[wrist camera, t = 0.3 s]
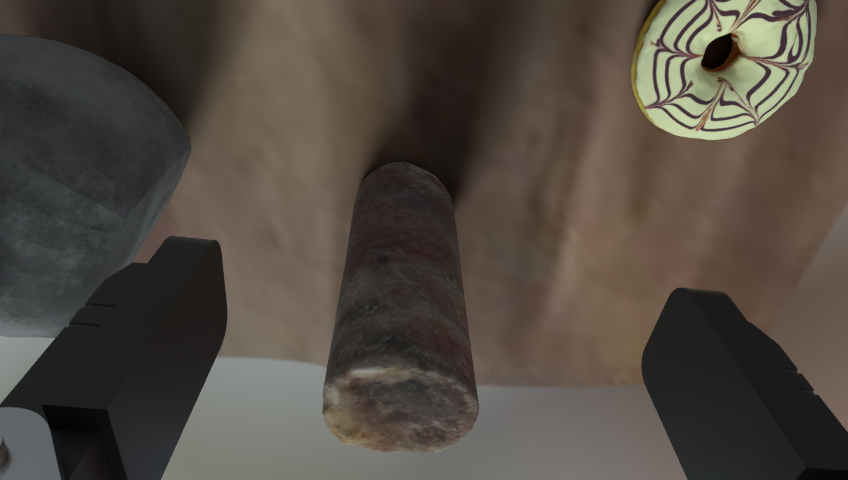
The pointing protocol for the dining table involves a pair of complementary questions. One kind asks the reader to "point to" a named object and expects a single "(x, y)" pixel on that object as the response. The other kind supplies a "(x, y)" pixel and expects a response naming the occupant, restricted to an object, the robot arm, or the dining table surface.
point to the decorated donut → (732, 81)
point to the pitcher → (75, 177)
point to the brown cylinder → (401, 321)
